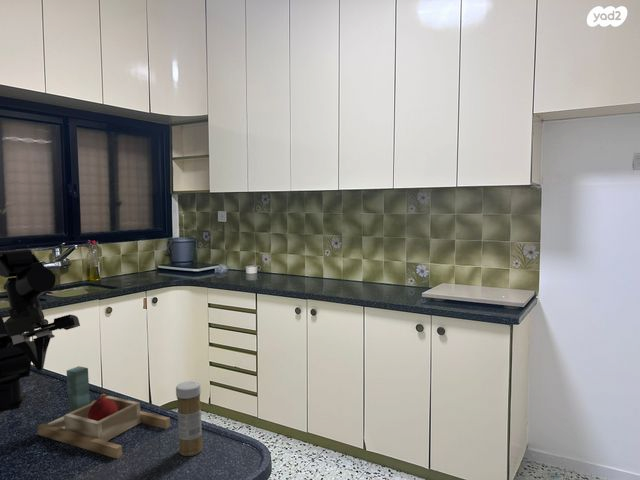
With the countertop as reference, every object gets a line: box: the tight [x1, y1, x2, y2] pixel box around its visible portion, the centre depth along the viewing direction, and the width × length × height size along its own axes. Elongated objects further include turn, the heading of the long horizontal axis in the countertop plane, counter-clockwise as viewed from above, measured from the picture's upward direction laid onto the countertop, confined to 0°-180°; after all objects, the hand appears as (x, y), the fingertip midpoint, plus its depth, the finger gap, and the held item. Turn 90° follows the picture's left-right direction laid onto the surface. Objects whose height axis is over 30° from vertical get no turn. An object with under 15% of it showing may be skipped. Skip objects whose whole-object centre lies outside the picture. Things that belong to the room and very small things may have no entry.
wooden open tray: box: [46, 365, 142, 442], centre depth 102 cm, size 16×11×12 cm, turn 65°
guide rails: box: [37, 399, 171, 460], centre depth 101 cm, size 24×14×2 cm, turn 65°
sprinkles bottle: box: [175, 380, 204, 457], centre depth 91 cm, size 5×5×14 cm
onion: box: [88, 393, 118, 421], centre depth 101 cm, size 6×6×8 cm
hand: (40, 370), depth 105 cm, fingers closed
